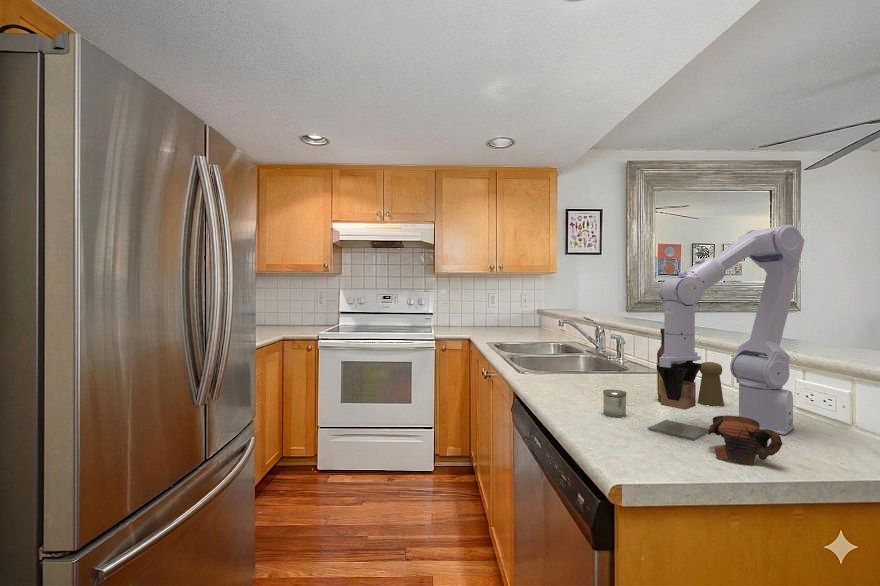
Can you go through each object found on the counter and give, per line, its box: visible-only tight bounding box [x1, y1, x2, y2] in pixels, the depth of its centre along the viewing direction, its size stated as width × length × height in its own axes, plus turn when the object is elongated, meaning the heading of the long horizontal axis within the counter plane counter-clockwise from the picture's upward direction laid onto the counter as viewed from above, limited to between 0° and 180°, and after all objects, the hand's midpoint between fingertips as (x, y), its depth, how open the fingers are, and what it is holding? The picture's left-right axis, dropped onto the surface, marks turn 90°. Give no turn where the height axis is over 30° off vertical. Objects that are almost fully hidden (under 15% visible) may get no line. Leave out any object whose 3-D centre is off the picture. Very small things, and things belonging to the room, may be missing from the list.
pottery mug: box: [707, 415, 784, 466], centre depth 78 cm, size 12×10×8 cm
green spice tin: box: [602, 388, 627, 419], centre depth 106 cm, size 5×5×6 cm
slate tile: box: [647, 419, 709, 441], centre depth 93 cm, size 9×9×1 cm
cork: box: [697, 361, 725, 407], centre depth 117 cm, size 6×6×11 cm
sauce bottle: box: [656, 327, 664, 402], centre depth 119 cm, size 7×6×20 cm
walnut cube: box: [660, 381, 697, 411], centre depth 94 cm, size 5×5×5 cm
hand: (679, 397), depth 93 cm, fingers closed on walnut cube, 5 cm apart
